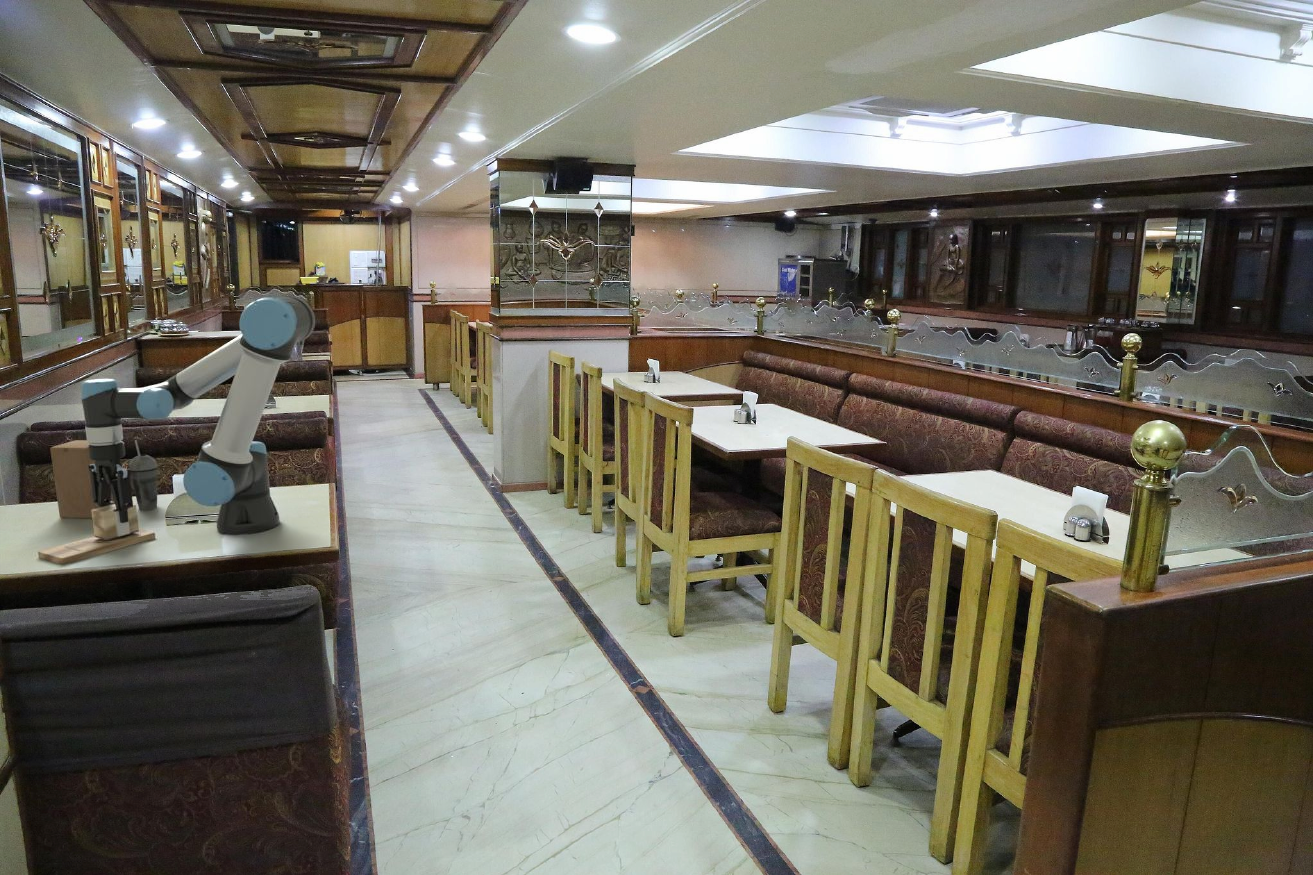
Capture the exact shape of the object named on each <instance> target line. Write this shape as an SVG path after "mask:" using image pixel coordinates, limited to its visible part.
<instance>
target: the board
mask: <svg viewBox="0 0 1313 875" xmlns="http://www.w3.org/2000/svg"><path fill="white" fill-rule="evenodd" d="M153 539H156V532H154V531H150V530H146V529H140V528H139V531H138V532H135V533H131V534H127V535H124V536H120V537H116V538H113V539H109V540H104V539H100V538H97V537H95V536H90V537H87V538H84V539H80V540H76V541H73V542H68V543H65V544H62V545H58V546H55V547H50V548H46V549H41V550H39V551H37V556H38V558H39V559H41V560H47V561H48V562H49V561H50V562H53V563H57V564H60V565H66V564H70V563H73V562H77V561H81V560H84V559H87V558H91V557H94V556H97V555H101V554H104V553H108V552H112V551H115V550H118V549H122V548H126V547H129V546H132V545H136V544H140V543H143V542H147V541H149V540H153Z"/></svg>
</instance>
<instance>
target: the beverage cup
mask: <svg viewBox="0 0 1313 875" xmlns="http://www.w3.org/2000/svg"><path fill="white" fill-rule="evenodd" d="M134 443H135V448H136V451H137V456H135V457H133V458H132V459H131V460H130V463H129V466H128V469H130V479H131V480H132V486H133V489H134V490H133V491H134V494H135V498H136V505H137V507H138V510H140V511H151V510H154V509H157V508H158V473H159V472H158V470H159V466H158V463H157V461H156V460H155V459H154V457H152V456H150V455H148V454H141V452H140V448H139V445H138V440H134Z"/></svg>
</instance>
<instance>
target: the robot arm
mask: <svg viewBox="0 0 1313 875" xmlns="http://www.w3.org/2000/svg"><path fill="white" fill-rule="evenodd" d="M315 325H316V318H315V312H314V311H313V309H312V308H311V306H310V305H309V304H308V303H307V302H306V301H304V300H303V299H301V298H299V297H295V296H289V295H288V296H285V295H284V296H279V297H278V296H277V297H275V296H269V297H266V296H265V297H262V298H259V299H256V300H255V301H252V302H251V303H249V304H248V305H246V307H245V308H244V309H243V311H242V313H241V314H240V318H239V331H240V332H241V334H240V335H238V336H236V337H234V339H232V340H230V341H229V342H226V343H225V344H223V345H222V346H221V347H219V348H217V349H216V350H214V351H212V352H211V353H209V354H207V355H206V356H204V357H203V358H201V359H199V360H198V361H195V363H193V364H191V365H189V366H188V367H186V368H184V369H183V370H181V371H180V372H178V373H176V374H174V375H173V376H172V377H170V378H168V379H166V380H164V381H163V382H161V383H160V382H159V383H157V384H156V383H155V384H153V385H152V384H151V385H148V386H144V387H136V388H135V387H133V388H132V387H131V388H129V387H127V388H126V387H125V388H124V387H119V385H118V382H117V380H116V379H113V378H96V379H87V380H84V381H83V382H82V383H81V385H80V389H81V391H80V392H81V398H80V401H81V402H82V403H81V404H82V410H83V415H84V416H83V417H84V423H85V424H84V425H85V435H86V436H85V437H86V440H87V442H88V443H90V444H89V445H88V452H89V458H90V459H91V460H95V464H91V465H88V469H89V472H90V476H91V485H92V493H93V501H94V503H98V506H99V507H100V508H101V507H105V506H110V504H113V503H114V502H115V506H116V509H114V513H115V522H116V530H117V536H122V535H126V534H130V529H129V521H128V511H127V510H128V508H131V507H133V504H134V501H133V494H132V484H131V476H130V469H129V468H126V469H125V468H124V467H123V463H122V460H121V459H122V458H124V457H125V456H126V448H125V442H123V441H122V440H124V433H123V429H124V427H123V426H122V420H124V419H126V420H128V419H129V420H150V421H153V420H163V419H167V418H169V417H170V415H171V414H172V413H173V411H177V410H181V409H184V408H186V407H188V406H190V405H191V404H192V403H193V401H194V400H196V399H197V398H199V397H201V396H202V395H203V394H205V393H206V392H208V391H210V390H212V389H213V388H215V387H217V386H218V385H221V384H222V383H223V382H225V381H227V380H229V379H230V378H231V377H233V376H234V377H233V380H232V382H231V385H230V389H229V392H228V395H227V397H226V399H225V402H224V405H223V408H222V410H221V413H220V417H219V419H218V421H217V424H216V427H215V430H214V433H213V436H212V439H211V440H208V441H206V442H204V443H203V444H202V446H201V448H200V451H199V453H198V457H197V459H196V461H195V462H193V463H192V464H191V465H190V466H189V467H188V468H187V469H186V471H185V472H184V474H183V477H182V479H183V481H182V482H183V487H184V490H185V492H186V493H187V494H188V496H189V497H190V498H191V499H192V500H193V501H194V502H195V503H197V504H199V505H201V506H203V507H217V506H219V510H218V517H217V519H216V530H217V532H219V533H222V534H227V535H246V534H255V533H259V532H265V531H267V530H270V529H273V528H275V527H277V526H278V525H279V524H280V522H281V521H280V514H279V512H278V509H277V507H276V505H275V503H274V501H273V498H272V497H271V491H270V489H271V488H270V479H269V478H270V477H269V476H270V475H269V466H268V463H269V462H268V453H267V448H266V445H265V443H264V442H261V441H254V438H255V435H256V432H257V429H258V427H259V425H260V421H261V419H262V416H263V413H264V411H265V408H266V406H267V403H268V399H269V397H270V394H271V391H272V389H273V386H274V384H275V381H276V379H277V378H276V377H277V376H278V373H279V369H280V367H281V365H282V364H285V363H287V362H289V361H290V360H291V358H292V355H293V352H294V349H295V346H296V344H298V343H300V342H303V341H305V340H306V339H307V338H309V337H310V336H311V334H312V333H313V332H314V328H315ZM96 472H97V473H96ZM112 480H113V481H112ZM111 491H112V495H113V499H114V502H112V501H111Z"/></svg>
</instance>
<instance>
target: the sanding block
mask: <svg viewBox="0 0 1313 875" xmlns="http://www.w3.org/2000/svg"><path fill="white" fill-rule="evenodd" d="M114 509H116V506H115V504H114V505H110V506H105V507H101V508H97V509H93V510H91V513H92V518H91V520H92V525H93V526H92V527H93V534H94V535H93V536H94V537H97V538H100V539H104V540H109V539H113V538H116V537H120V536H117V530H116V522H115V513H114ZM127 511H128V521H129V529H130V534H131V533H135V532H138V531H139V529H140V528H139V527H140V526H139V518H138V511H137V504H134V503H133V507H131V508H128V510H127ZM126 535H127V534H126ZM122 536H124V535H122Z"/></svg>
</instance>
